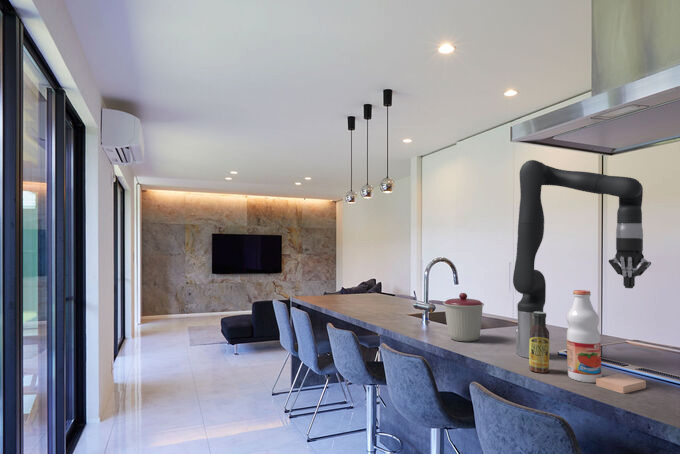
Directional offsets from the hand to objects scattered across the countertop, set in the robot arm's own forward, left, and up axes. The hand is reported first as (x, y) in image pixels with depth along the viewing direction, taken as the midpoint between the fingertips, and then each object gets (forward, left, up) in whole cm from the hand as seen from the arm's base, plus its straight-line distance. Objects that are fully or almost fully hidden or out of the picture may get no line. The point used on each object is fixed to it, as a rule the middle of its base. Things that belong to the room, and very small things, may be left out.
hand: (629, 288), depth 143 cm
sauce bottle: (-15, -27, -28) cm, 41 cm away
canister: (-64, -16, -28) cm, 71 cm away
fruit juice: (-3, -21, -28) cm, 35 cm away
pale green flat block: (+7, -13, -27) cm, 31 cm away
